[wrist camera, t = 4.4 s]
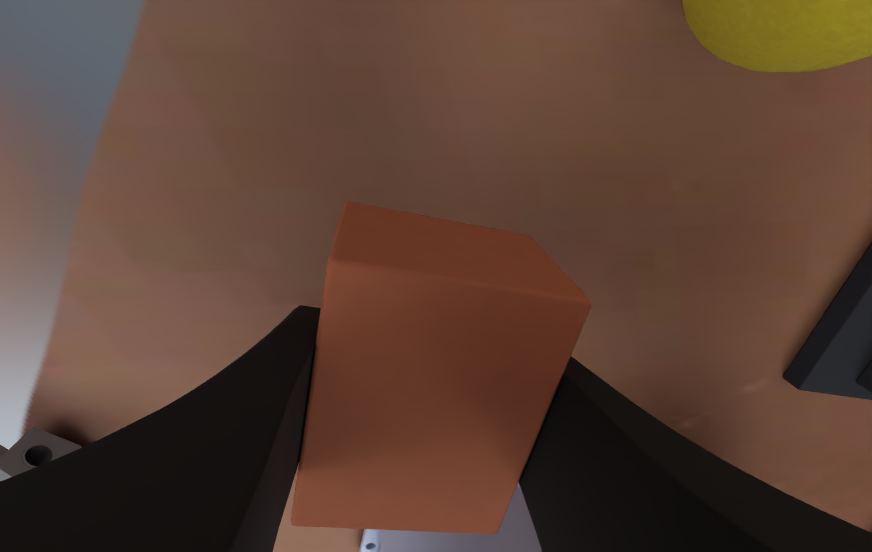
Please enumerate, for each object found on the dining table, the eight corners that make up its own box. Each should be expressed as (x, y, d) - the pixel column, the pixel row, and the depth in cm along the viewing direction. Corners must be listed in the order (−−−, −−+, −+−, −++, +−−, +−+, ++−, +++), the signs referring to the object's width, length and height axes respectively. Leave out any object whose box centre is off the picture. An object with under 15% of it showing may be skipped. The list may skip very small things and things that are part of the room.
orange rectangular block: (469, 424, 13) (497, 537, 10) (313, 408, 12) (289, 528, 9) (531, 235, 11) (595, 301, 7) (344, 199, 10) (327, 258, 6)
